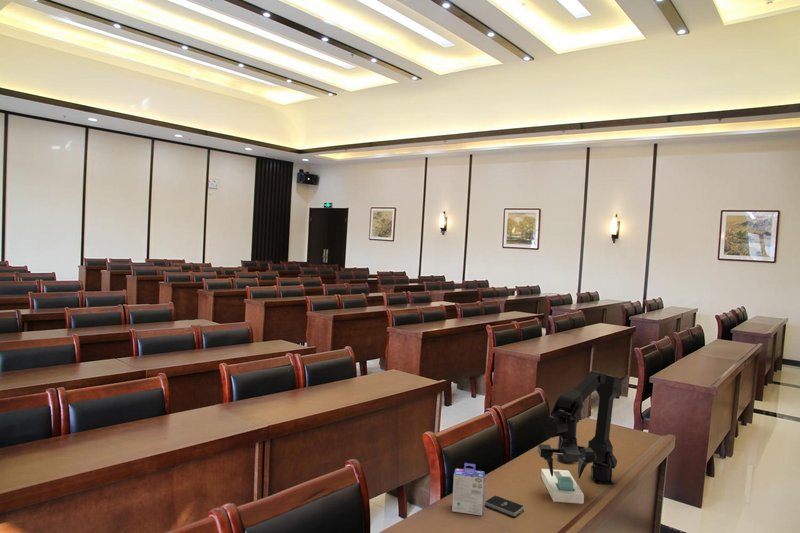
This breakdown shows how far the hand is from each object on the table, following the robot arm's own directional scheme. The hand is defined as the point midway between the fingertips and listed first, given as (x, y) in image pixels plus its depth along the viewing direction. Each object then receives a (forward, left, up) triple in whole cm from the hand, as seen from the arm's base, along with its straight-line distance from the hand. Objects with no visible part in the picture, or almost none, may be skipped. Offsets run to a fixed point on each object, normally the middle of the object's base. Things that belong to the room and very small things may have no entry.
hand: (565, 477), depth 177 cm
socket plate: (0, -5, -7) cm, 8 cm away
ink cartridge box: (+34, +15, -7) cm, 38 cm away
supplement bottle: (-9, -33, -7) cm, 34 cm away
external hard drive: (+22, +12, -7) cm, 27 cm away
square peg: (0, 0, -7) cm, 7 cm away
